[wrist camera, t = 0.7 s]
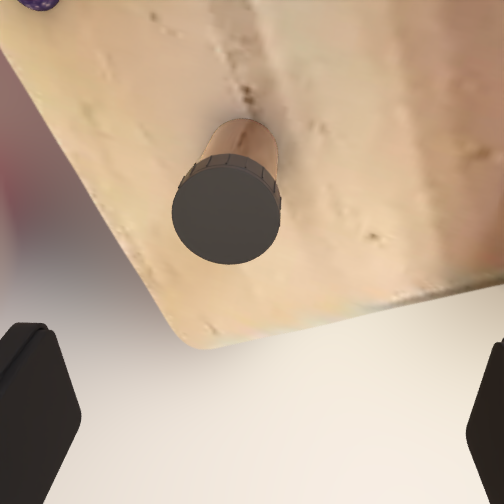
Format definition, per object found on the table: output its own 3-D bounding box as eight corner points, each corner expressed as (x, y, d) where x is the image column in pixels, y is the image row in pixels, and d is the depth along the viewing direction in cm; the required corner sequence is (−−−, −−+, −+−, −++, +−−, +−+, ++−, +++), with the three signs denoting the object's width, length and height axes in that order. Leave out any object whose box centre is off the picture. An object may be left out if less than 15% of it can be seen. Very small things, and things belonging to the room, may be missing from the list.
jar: (201, 123, 41) (169, 176, 30) (273, 113, 40) (266, 164, 29) (215, 189, 44) (191, 259, 33) (282, 182, 43) (279, 251, 32)
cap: (168, 159, 32) (158, 174, 29) (274, 146, 31) (273, 160, 28) (191, 249, 35) (184, 269, 33) (287, 240, 34) (287, 260, 32)
